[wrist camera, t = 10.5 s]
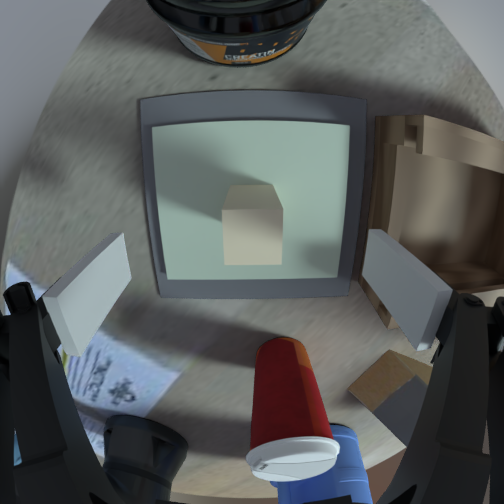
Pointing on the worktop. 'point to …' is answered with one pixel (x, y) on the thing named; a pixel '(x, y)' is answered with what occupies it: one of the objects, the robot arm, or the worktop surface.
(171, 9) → the supplement container
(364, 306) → the worktop surface
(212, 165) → the cover plate
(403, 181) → the walnut box
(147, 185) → the charcoal mat
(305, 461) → the paper cup
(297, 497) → the water jug
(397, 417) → the sandwich container
